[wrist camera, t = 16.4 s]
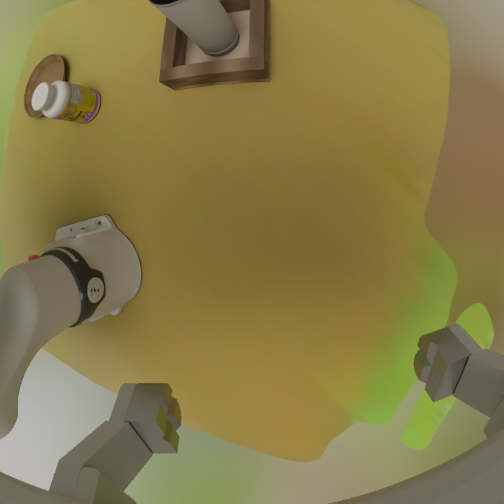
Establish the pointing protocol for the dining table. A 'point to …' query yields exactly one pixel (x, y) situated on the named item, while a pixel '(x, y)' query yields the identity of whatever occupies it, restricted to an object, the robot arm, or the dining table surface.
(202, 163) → the dining table surface
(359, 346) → the dining table surface
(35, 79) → the plant saucer
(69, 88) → the supplement bottle
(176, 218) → the dining table surface
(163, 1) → the travel mug
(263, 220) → the dining table surface
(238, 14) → the square wooden tray
